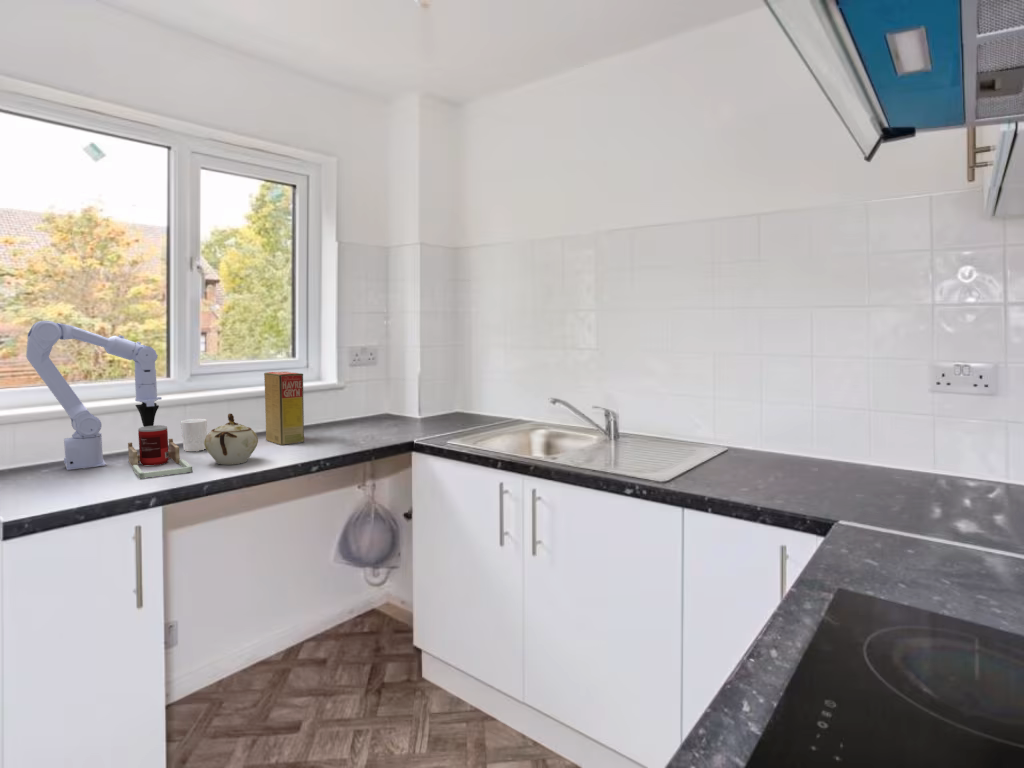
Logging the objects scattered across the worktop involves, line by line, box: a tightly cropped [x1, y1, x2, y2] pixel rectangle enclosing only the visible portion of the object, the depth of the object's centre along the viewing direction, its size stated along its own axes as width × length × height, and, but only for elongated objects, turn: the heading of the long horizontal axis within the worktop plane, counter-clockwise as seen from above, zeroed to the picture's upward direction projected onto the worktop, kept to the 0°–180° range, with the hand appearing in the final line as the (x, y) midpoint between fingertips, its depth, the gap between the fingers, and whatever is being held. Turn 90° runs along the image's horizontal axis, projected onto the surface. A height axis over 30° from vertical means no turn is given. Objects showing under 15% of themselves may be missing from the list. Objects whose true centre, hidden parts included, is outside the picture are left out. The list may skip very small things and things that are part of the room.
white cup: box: [180, 418, 208, 452], centre depth 205 cm, size 8×8×10 cm
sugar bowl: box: [204, 413, 259, 466], centre depth 187 cm, size 20×15×15 cm
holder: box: [127, 438, 181, 467], centre depth 186 cm, size 12×11×6 cm
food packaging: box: [263, 371, 305, 446], centre depth 220 cm, size 13×9×25 cm
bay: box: [132, 458, 194, 479], centre depth 175 cm, size 13×13×2 cm
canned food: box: [137, 424, 170, 466], centre depth 185 cm, size 8×8×11 cm
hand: (148, 426), depth 192 cm, fingers open, 2 cm apart
